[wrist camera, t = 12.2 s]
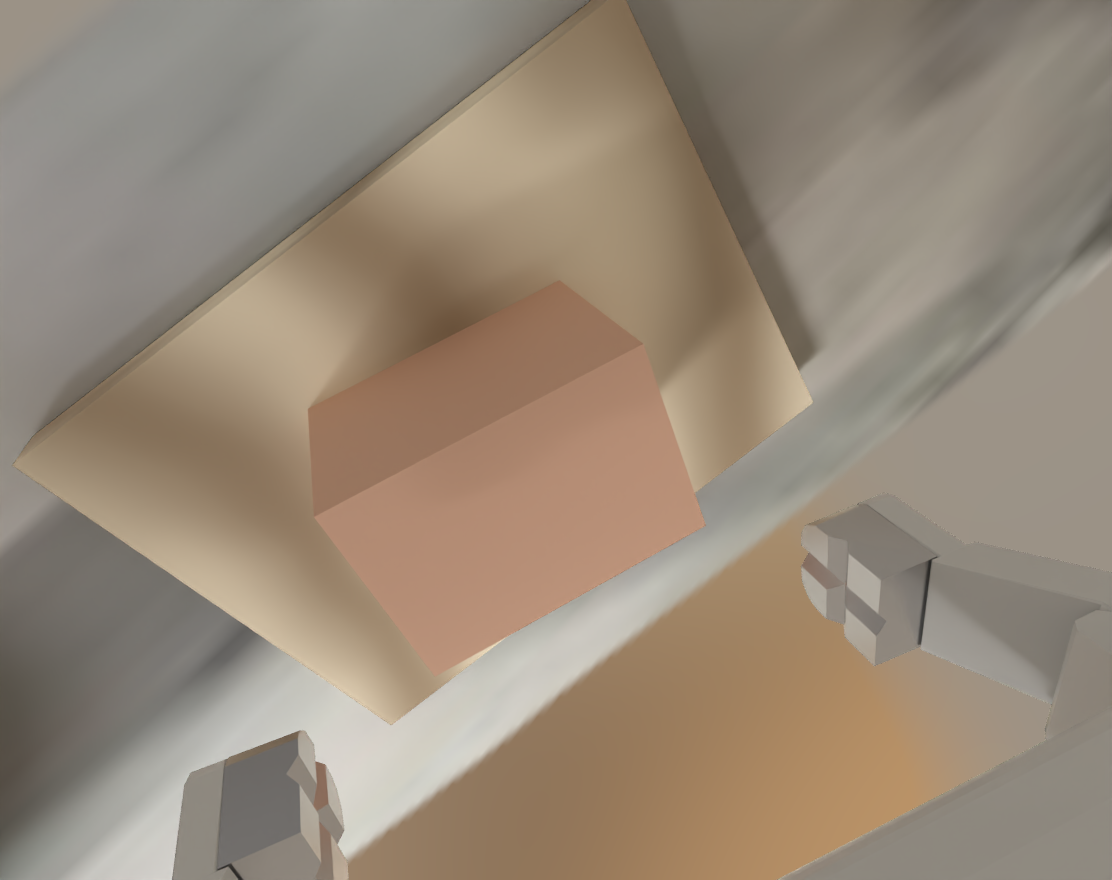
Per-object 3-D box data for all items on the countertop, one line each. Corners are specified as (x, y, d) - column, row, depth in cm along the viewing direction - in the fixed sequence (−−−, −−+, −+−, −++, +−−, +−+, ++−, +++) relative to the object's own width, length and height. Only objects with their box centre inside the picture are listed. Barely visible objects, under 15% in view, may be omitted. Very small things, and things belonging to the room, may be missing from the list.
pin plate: (385, 690, 24) (406, 825, 20) (32, 436, 17) (-55, 559, 13) (785, 385, 24) (895, 453, 19) (595, -4, 17) (703, -31, 12)
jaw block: (404, 549, 20) (434, 676, 16) (308, 408, 17) (313, 517, 13) (620, 433, 20) (706, 525, 16) (559, 279, 18) (643, 343, 14)
